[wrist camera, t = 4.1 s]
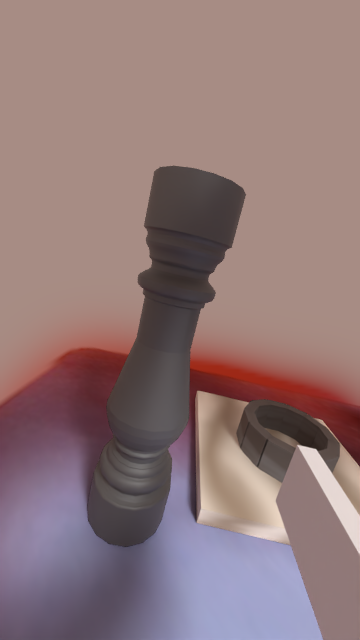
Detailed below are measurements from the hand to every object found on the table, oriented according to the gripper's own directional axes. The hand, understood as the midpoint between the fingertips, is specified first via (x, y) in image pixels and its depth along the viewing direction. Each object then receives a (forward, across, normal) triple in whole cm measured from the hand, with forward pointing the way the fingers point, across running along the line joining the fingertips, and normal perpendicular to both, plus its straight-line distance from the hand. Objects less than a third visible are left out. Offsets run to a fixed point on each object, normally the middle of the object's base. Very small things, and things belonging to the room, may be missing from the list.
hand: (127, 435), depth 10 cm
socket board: (+18, +16, -13) cm, 28 cm away
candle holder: (+8, 0, -14) cm, 16 cm away
